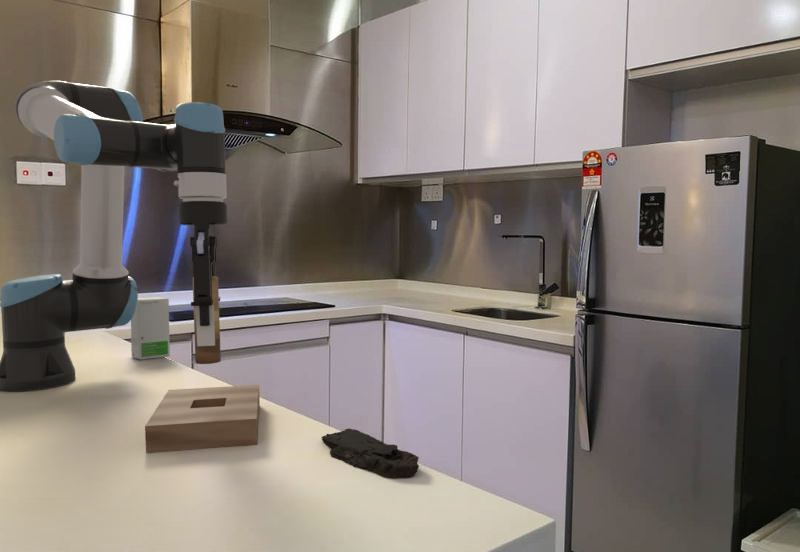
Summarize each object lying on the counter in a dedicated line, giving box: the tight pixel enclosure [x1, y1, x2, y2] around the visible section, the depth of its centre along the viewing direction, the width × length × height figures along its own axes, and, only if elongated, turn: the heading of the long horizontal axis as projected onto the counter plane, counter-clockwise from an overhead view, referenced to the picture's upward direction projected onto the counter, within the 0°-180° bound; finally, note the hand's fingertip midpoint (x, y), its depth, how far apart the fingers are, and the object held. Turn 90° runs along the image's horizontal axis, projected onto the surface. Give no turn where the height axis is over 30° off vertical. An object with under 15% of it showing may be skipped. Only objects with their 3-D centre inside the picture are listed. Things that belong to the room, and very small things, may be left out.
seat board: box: [144, 384, 261, 454], centre depth 105 cm, size 22×16×4 cm
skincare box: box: [130, 296, 171, 360], centre depth 165 cm, size 8×7×16 cm
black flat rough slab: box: [321, 428, 420, 480], centre depth 90 cm, size 22×7×3 cm, turn 36°
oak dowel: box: [192, 276, 222, 365], centre depth 103 cm, size 4×4×14 cm
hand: (207, 342), depth 104 cm, fingers closed on oak dowel, 4 cm apart
